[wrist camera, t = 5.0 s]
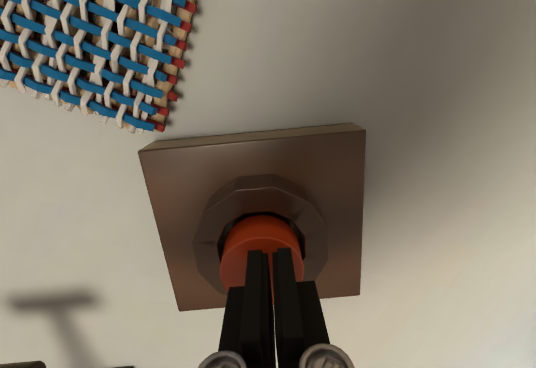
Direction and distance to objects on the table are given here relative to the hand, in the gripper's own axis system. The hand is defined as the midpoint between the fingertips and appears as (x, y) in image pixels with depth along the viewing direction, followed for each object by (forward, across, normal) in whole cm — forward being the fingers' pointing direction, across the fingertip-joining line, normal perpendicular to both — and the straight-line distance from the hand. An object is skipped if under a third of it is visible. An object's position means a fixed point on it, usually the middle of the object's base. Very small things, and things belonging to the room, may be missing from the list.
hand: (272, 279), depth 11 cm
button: (+3, +1, 0) cm, 3 cm away
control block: (+6, +1, 0) cm, 7 cm away
